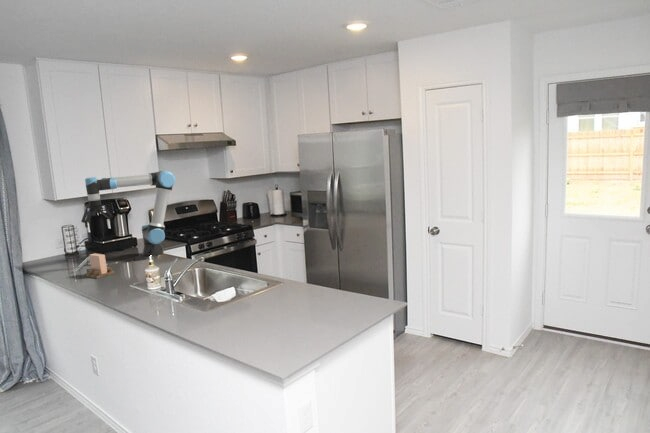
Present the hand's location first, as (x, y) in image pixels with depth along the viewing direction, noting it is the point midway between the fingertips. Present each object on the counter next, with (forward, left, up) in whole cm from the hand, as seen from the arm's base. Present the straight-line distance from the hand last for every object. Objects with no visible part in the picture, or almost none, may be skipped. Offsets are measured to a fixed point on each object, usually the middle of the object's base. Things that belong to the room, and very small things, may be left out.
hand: (99, 230), depth 319 cm
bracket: (+10, -11, -27) cm, 31 cm away
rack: (+10, +19, -26) cm, 34 cm away
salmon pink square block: (+10, +18, -25) cm, 33 cm away
